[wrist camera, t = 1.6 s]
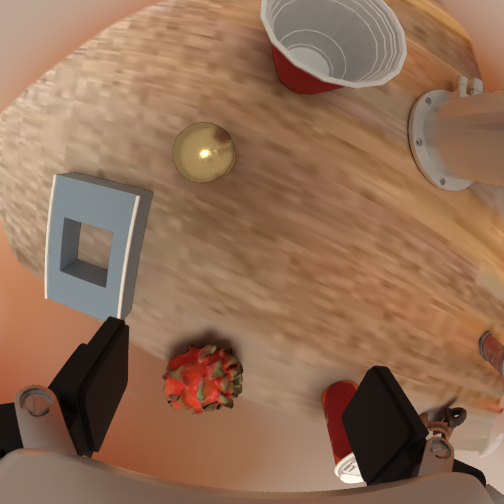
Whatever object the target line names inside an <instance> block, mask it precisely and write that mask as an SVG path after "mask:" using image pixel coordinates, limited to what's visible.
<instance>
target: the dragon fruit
mask: <svg viewBox="0 0 504 504" xmlns="http://www.w3.org/2000/svg"><path fill="white" fill-rule="evenodd" d="M193 346H195V345H189V347H188V353H186V354H181V355H177V356H175V357H173V358H172V359H171V360H170V361H169V363H168V365H167V368H166V371H165V373H164V375H163V379H164V378H165V386H164V393H165V396H166V398H167V400H168V403H170V402H171V400H172V401H173V402H172V404H171V407H172V408H173V409H175V410H180V409H184V410H190V409H194V413H193V415H194V414H201V413H203V412H204V411H205V412H208V411H209V412H212V411H214V410H215V409H216V410H218V409H220V408H221V407H223V406H225V407H227V408H230V409H232V408H233V406H234V405H233V400H232V398H237V397H238V394H240V393H241V392H242V380H243V377H242V375H241V374H242V373H243V368H242V364H241V363H240V361H238V359H236V358H235V357H230V356H229V354H230V353H231V354H230V355H232V356H234V354H235V353H234V351H233V349H232V348H231V347H226V348H222V349H220V350H218V351H217V352H215V350H216V349H217V346H216V345H209V344H207V345H206V346H205V347H204V348H202V349H200V348H195V347H193ZM228 356H229V357H228Z"/></svg>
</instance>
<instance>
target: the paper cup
mask: <svg viewBox="0 0 504 504" xmlns="http://www.w3.org/2000/svg"><path fill="white" fill-rule="evenodd" d="M357 389H358V386H357V385H356V384H355V383H354V382H352V381H340V382H337V383H334V384H333V385H331V386H329V387H328V388H327V389H326V390H325V391H324V393H323V395H322V404H323V409H324V414H325V418H326V423H327V427H328V432H329V435H330V441H331V445H332V449H333V454H334V459H335V464H336V467H335V470H334V471H335V474H336V475H337V476H338V477H340V479H341V480H342V481H343V482H345V483H358V482H363V479H362V477H361V474H360V471H359V468H358V465H357V462H356V459H355V457H354V454H353V451H352V448H351V445H350V443H349V440H348V437H347V434H346V431H345V429H344V426H343V423H342V420H341V417H342V413H343V412H344V410H345V408H346V407H347V405H348V404H349V402H350V400H351V399H352V397H353V395H354V394H355V392H356V390H357Z"/></svg>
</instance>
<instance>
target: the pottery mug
mask: <svg viewBox="0 0 504 504" xmlns="http://www.w3.org/2000/svg"><path fill="white" fill-rule="evenodd" d="M466 414H467V412H466V410H465V409H463V408H460V407H458V408H453V409H450V408H446V417H445V419H444V420H443V422H441V421H440V422H438V421H429V422H428V418H427V417H428V414H427V413H425V414H422V415H420V418H421V420H422V422H423V423H424V425H425V427H426V428H429V429H430V431H433V435H436V434H439V433H441V434H442V436H441V438H444V439H445V440H447V441H448V440H449V437H450V436H451V434H452V431H453V429H454V428H455V427H456V426H459V425H460V424H462V423H463V422H464V420H465V419H466V416H467V415H466ZM455 415H459V416H457V417H454V416H455Z"/></svg>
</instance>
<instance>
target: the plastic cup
mask: <svg viewBox="0 0 504 504" xmlns="http://www.w3.org/2000/svg"><path fill="white" fill-rule="evenodd" d="M260 18H261V21H262V23H263V25H264V27H265V29H266V32H267V34H268V36H269V38H270V41H271V45H272V53H273V60H274V63H275V67H276V71H277V73H278V76H279V79H280V80H281V81H282V82H283V83H284V84H285V85H286V86H287V87H288V88H289V89H291V90H293V91H295V92H297V93H302V94H308V95H311V94H316V93H321V92H326V91H331V90H334V89H338V88H342V87H349V88H353V89H354V88H362V87H370V86H378V85H383V84H385V83H386V82H387V81H389V80H390V79H392V78H393V77H394V76H396V75H397V74H399V73H400V71H401V69H402V66H403V64H404V61H405V58H406V56H407V48H406V40H405V32H404V30H403V28H402V26H401V25H400V23H399V21H398V19H397V17H396V15H395V13H394V12H393V10H392V9H391V8H390V7H389V6H388V5H387V4H386V3H385V2H384V1H383V0H262V3H261V13H260Z"/></svg>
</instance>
